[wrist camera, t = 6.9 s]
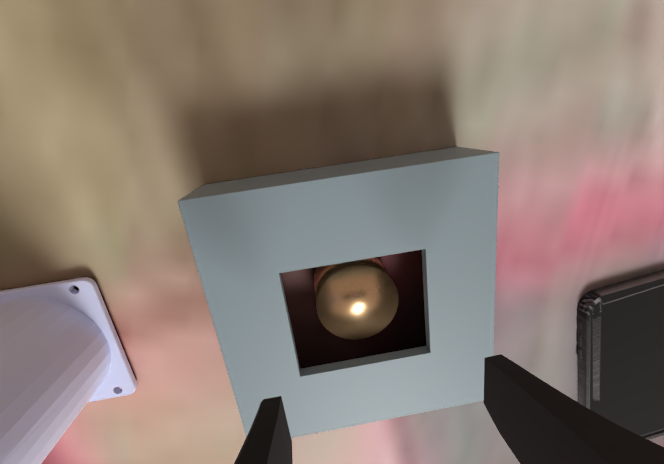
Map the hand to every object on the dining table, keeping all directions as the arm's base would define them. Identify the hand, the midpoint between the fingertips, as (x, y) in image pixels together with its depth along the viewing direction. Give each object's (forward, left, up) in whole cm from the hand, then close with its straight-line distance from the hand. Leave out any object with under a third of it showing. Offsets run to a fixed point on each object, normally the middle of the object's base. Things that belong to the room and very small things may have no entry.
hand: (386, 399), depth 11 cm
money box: (0, 0, -9) cm, 9 cm away
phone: (+20, -11, -10) cm, 25 cm away
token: (0, 0, -9) cm, 9 cm away
